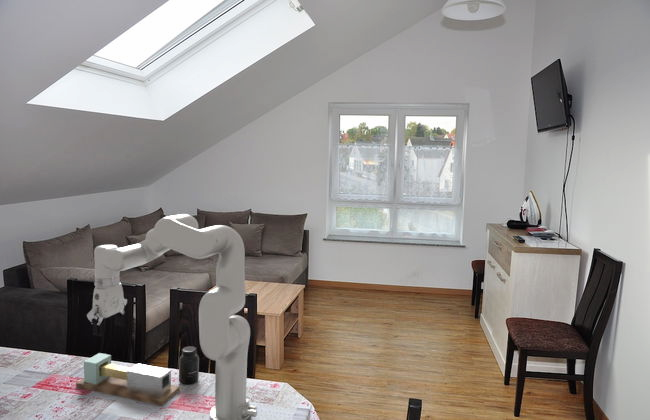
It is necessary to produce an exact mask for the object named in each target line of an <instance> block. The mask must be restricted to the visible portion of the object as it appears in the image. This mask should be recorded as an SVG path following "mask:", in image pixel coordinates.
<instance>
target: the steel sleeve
mask: <svg viewBox="0 0 650 420" xmlns="http://www.w3.org/2000/svg"><path fill="white" fill-rule="evenodd" d="M171 385H172V369H168V368H165V367H160V366H153V365H148V364H144V363H143V364H142V363H136V364H135V365H134V366H132V367H130V369H129V370H127V390H130V391H135V392H140V393H144V394H149V395H154V396H159V397H161V396H162V395H164V394H165V393H166V392H167V391H169V390H170V389H171Z"/></svg>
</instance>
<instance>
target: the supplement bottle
mask: <svg viewBox="0 0 650 420" xmlns="http://www.w3.org/2000/svg"><path fill="white" fill-rule="evenodd" d="M181 351H182V352H181V356H180V357H179V360H178V382H179V384H180V385H184V386H191V385H195V384H196V383H198V381H199V375H200V372H199V370H200V367H199V366H200V357H199V355H198V354H197V347H195V346H185V347H183V348H182V349H181Z"/></svg>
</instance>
